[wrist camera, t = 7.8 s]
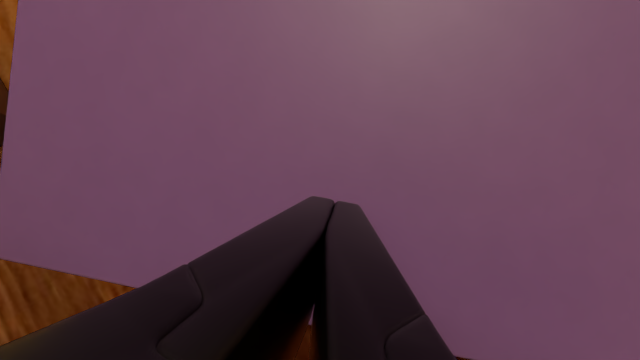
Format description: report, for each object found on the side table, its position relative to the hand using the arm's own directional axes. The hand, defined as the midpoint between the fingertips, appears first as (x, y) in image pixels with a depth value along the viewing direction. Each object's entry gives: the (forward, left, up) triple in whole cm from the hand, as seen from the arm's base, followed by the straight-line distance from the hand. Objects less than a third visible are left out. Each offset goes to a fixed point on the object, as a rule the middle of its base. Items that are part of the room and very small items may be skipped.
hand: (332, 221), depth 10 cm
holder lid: (+3, -3, -2) cm, 5 cm away
